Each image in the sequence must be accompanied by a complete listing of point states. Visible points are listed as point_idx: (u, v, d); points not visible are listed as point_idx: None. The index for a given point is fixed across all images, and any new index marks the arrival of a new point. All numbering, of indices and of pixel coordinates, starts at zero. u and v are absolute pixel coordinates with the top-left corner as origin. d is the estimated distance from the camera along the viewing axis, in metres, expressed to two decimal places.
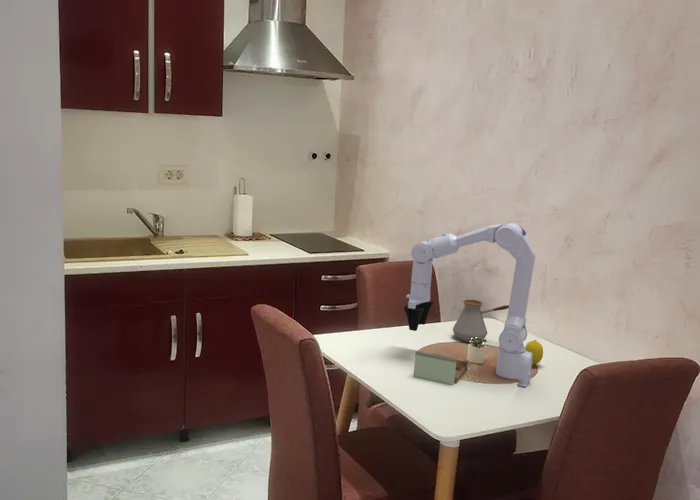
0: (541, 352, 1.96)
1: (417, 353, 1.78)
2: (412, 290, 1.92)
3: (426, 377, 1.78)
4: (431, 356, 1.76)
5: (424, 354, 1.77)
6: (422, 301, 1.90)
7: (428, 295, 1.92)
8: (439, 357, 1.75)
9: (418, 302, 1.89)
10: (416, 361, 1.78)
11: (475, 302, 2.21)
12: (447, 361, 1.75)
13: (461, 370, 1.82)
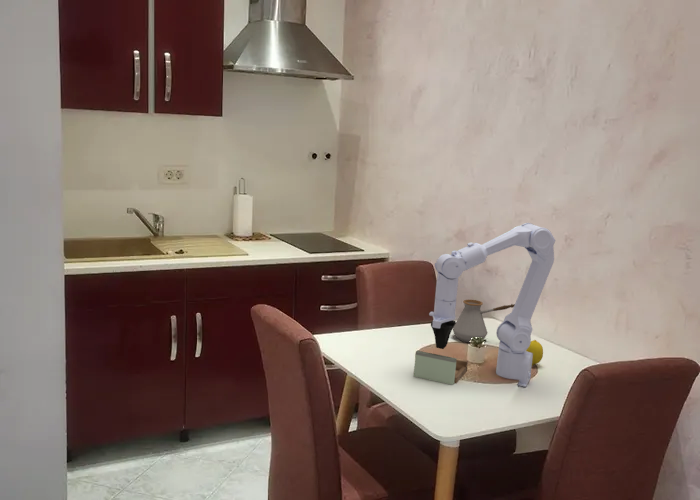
0: (541, 352, 1.96)
1: (417, 353, 1.78)
2: (436, 307, 1.77)
3: (426, 377, 1.78)
4: (431, 356, 1.76)
5: (424, 354, 1.77)
6: (447, 320, 1.75)
7: (453, 313, 1.77)
8: (439, 357, 1.75)
9: (443, 321, 1.74)
10: (416, 361, 1.78)
11: (475, 302, 2.21)
12: (447, 361, 1.75)
13: (461, 370, 1.82)
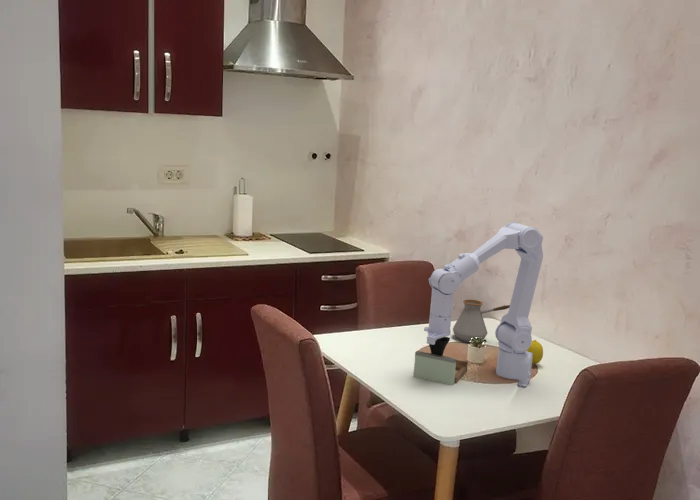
0: (541, 352, 1.96)
1: (417, 353, 1.78)
2: (431, 323, 1.74)
3: (426, 377, 1.78)
4: (431, 356, 1.76)
5: (424, 354, 1.77)
6: (442, 336, 1.72)
7: (448, 329, 1.74)
8: (439, 358, 1.75)
9: (438, 337, 1.71)
10: (416, 362, 1.78)
11: (475, 302, 2.21)
12: (447, 361, 1.74)
13: (461, 370, 1.82)
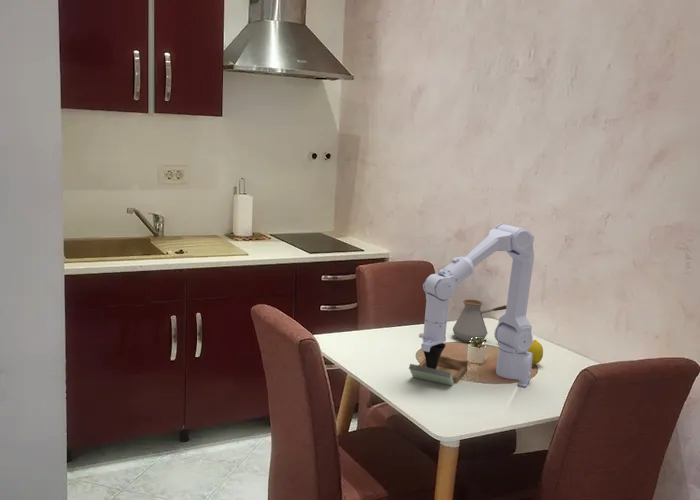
0: (541, 352, 1.96)
1: (411, 369, 1.74)
2: (426, 329, 1.70)
3: None
4: (425, 372, 1.73)
5: (418, 370, 1.74)
6: (437, 342, 1.68)
7: (444, 335, 1.70)
8: (433, 373, 1.72)
9: (433, 344, 1.67)
10: (412, 372, 1.76)
11: (475, 302, 2.21)
12: (442, 376, 1.71)
13: (461, 370, 1.82)
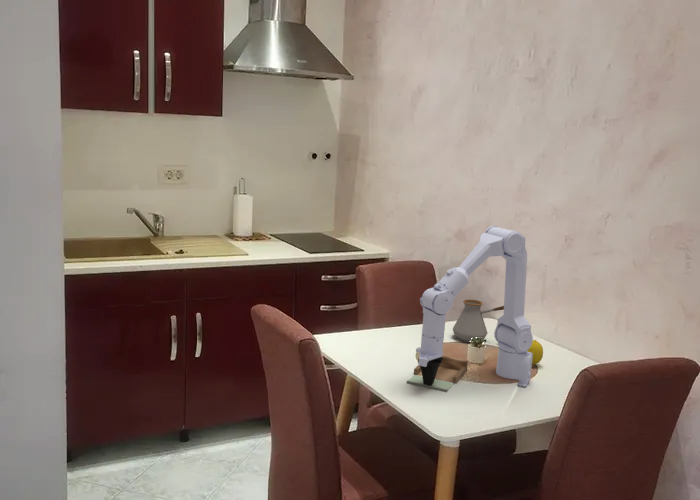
0: (541, 352, 1.96)
1: None
2: (423, 344, 1.70)
3: None
4: None
5: None
6: (434, 357, 1.68)
7: (441, 350, 1.70)
8: None
9: (430, 359, 1.66)
10: None
11: (475, 302, 2.21)
12: None
13: (461, 370, 1.82)
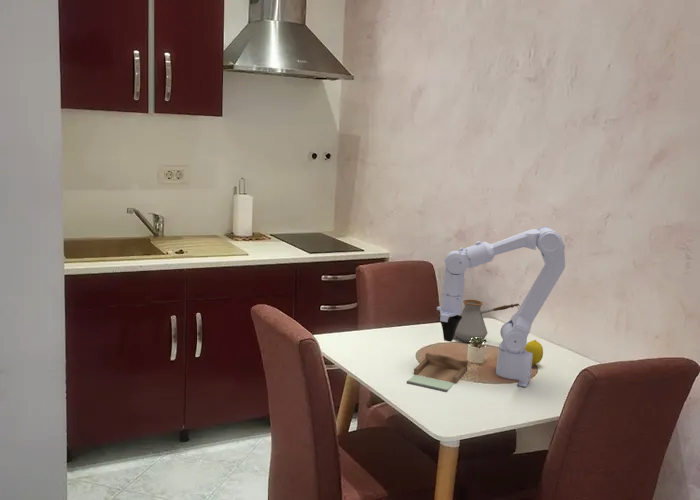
0: (541, 352, 1.96)
1: None
2: (443, 302, 1.83)
3: None
4: None
5: None
6: (454, 314, 1.81)
7: (460, 307, 1.83)
8: None
9: (450, 315, 1.80)
10: None
11: (475, 302, 2.21)
12: None
13: (461, 370, 1.82)
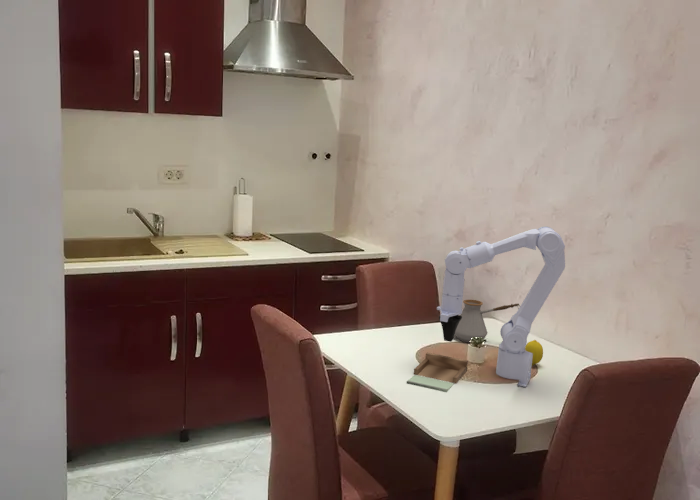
0: (541, 352, 1.96)
1: None
2: (443, 302, 1.83)
3: None
4: None
5: None
6: (454, 314, 1.81)
7: (460, 307, 1.83)
8: None
9: (450, 315, 1.80)
10: None
11: (475, 302, 2.21)
12: None
13: (461, 370, 1.82)
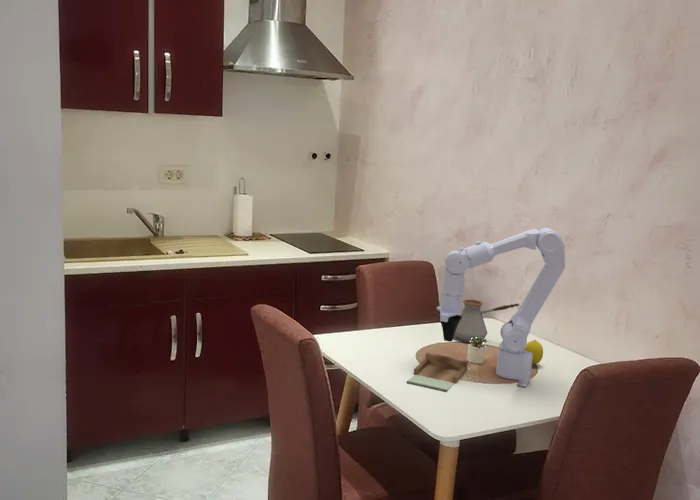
0: (541, 352, 1.96)
1: None
2: (443, 302, 1.83)
3: None
4: None
5: None
6: (454, 314, 1.81)
7: (460, 307, 1.83)
8: None
9: (450, 315, 1.80)
10: None
11: (475, 302, 2.21)
12: None
13: (461, 370, 1.82)
